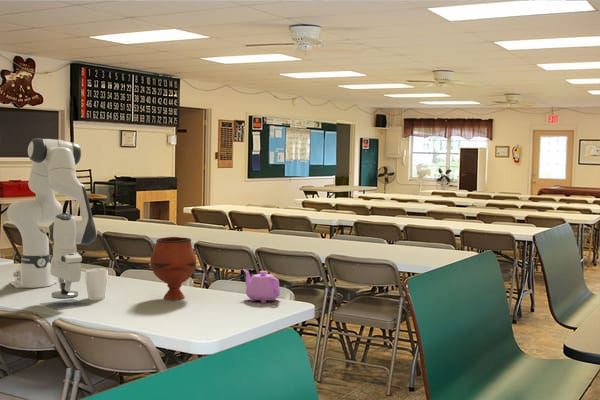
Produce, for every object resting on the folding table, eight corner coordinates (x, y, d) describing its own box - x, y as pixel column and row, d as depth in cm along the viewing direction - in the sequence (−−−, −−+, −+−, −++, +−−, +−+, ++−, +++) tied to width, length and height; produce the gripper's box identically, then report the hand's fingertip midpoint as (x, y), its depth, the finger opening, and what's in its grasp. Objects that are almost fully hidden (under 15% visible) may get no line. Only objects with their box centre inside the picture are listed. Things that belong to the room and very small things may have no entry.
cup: (101, 301, 284) (101, 272, 284) (81, 300, 286) (81, 271, 285) (112, 297, 293) (111, 268, 292) (92, 296, 295) (91, 268, 294)
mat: (39, 304, 278) (39, 303, 278) (73, 299, 288) (73, 298, 288) (57, 310, 266) (57, 310, 266) (91, 305, 276) (91, 305, 276)
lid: (47, 295, 279) (47, 282, 278) (71, 292, 286) (71, 279, 285) (58, 299, 271) (58, 286, 271) (82, 296, 278) (82, 283, 278)
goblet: (165, 292, 305) (165, 235, 304) (205, 295, 299) (205, 237, 297) (141, 300, 287) (141, 240, 286) (183, 304, 281) (182, 242, 279)
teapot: (232, 299, 291) (232, 270, 291) (255, 294, 302) (255, 266, 302) (268, 306, 279) (268, 275, 278) (290, 300, 290) (291, 271, 289)
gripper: (46, 252, 283) (46, 286, 284) (68, 259, 268) (68, 295, 269) (61, 251, 287) (61, 284, 288) (83, 258, 272) (83, 293, 273)
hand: (64, 289), depth 278 cm, fingers closed on lid, 3 cm apart
